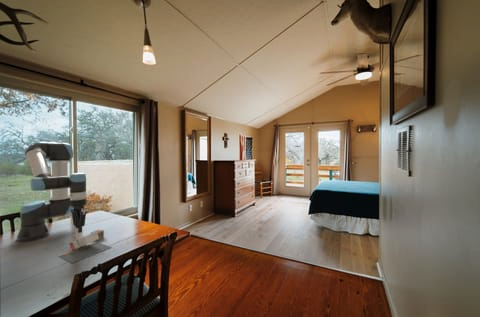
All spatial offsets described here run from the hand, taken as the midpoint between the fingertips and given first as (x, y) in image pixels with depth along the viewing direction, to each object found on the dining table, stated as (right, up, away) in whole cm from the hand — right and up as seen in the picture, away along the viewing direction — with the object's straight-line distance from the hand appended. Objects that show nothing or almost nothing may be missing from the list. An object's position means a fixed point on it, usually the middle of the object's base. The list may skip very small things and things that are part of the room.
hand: (79, 237), depth 120 cm
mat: (+8, -7, -4) cm, 11 cm away
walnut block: (+1, -6, +13) cm, 15 cm away
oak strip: (+2, -7, -1) cm, 7 cm away
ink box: (-2, -4, +1) cm, 5 cm away
